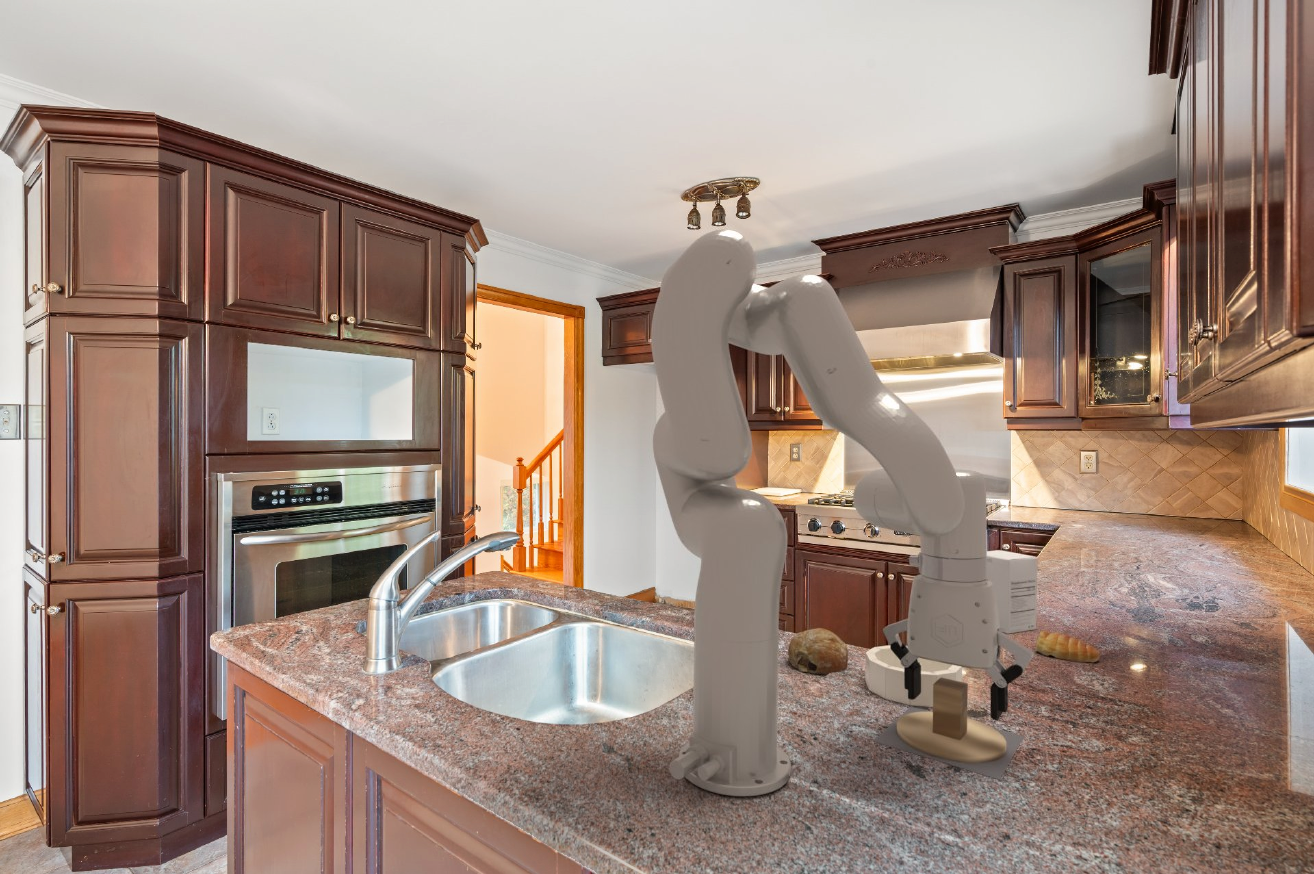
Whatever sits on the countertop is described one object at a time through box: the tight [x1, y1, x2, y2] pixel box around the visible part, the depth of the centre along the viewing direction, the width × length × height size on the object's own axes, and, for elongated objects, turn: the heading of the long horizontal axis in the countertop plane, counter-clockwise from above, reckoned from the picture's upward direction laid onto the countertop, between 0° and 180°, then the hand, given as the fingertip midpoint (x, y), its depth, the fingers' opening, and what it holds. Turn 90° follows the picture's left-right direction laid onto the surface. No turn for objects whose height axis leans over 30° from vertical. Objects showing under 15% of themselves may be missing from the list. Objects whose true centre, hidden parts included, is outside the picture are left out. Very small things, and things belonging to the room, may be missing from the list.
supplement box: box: [987, 549, 1039, 635], centre depth 135 cm, size 9×9×15 cm
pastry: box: [1035, 630, 1101, 663], centre depth 116 cm, size 9×7×4 cm
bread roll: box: [787, 627, 849, 676], centre depth 109 cm, size 10×10×8 cm
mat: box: [873, 705, 1025, 781], centre depth 81 cm, size 14×14×1 cm
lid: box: [897, 677, 1006, 763], centre depth 81 cm, size 12×12×7 cm
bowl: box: [865, 644, 963, 708], centre depth 98 cm, size 13×13×5 cm
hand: (954, 705), depth 81 cm, fingers open, 9 cm apart
